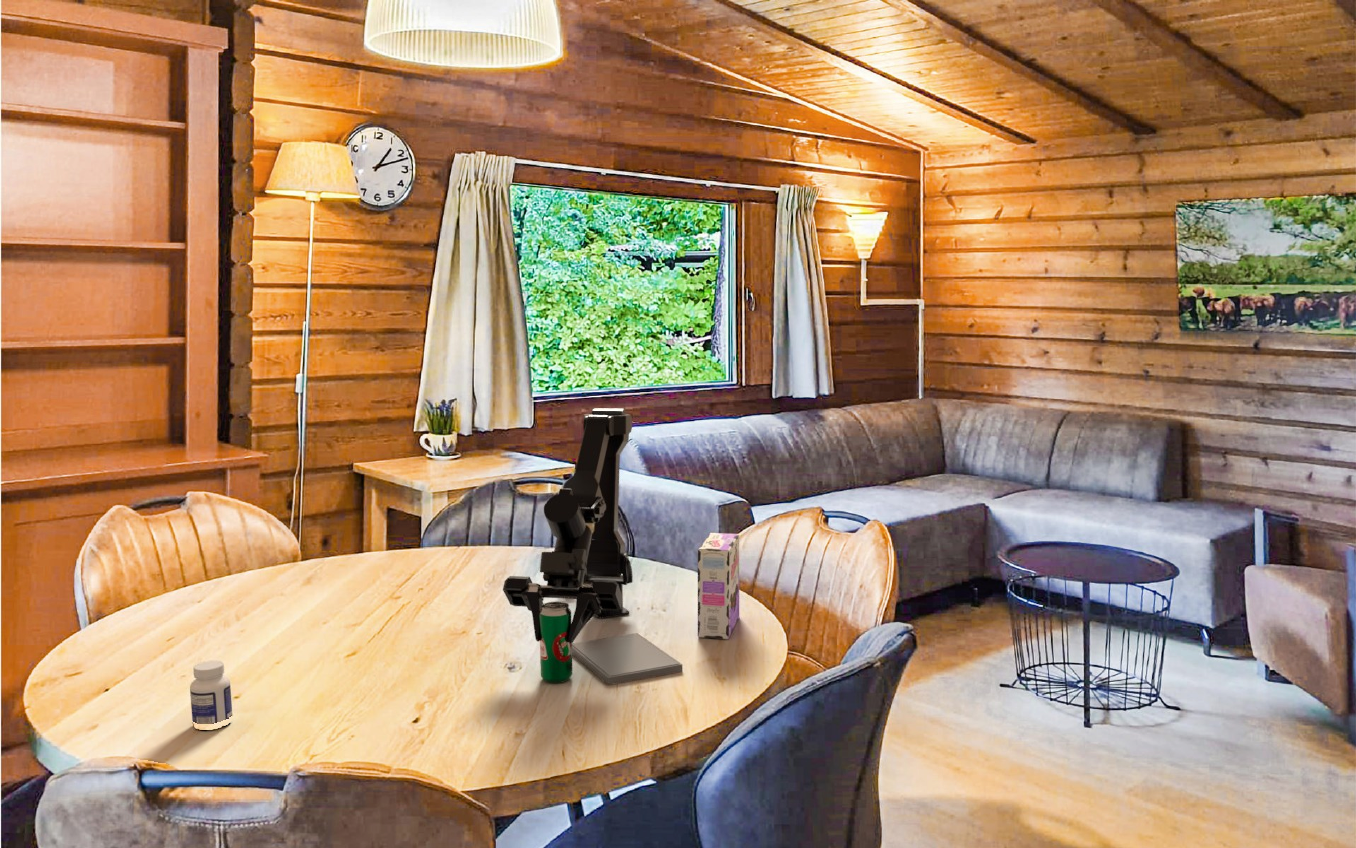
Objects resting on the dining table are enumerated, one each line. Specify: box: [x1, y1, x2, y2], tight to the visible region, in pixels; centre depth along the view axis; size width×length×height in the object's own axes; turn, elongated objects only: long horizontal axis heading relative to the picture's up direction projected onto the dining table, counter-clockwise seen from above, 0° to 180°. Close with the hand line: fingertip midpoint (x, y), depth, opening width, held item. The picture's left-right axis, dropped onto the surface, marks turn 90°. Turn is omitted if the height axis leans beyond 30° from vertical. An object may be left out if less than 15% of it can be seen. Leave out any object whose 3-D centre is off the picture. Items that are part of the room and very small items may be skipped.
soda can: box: [539, 601, 574, 684], centre depth 167 cm, size 5×5×12 cm
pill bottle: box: [189, 659, 233, 724], centre depth 150 cm, size 5×5×9 cm
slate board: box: [572, 632, 683, 686], centre depth 175 cm, size 18×13×1 cm
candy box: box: [697, 532, 740, 640], centre depth 192 cm, size 14×6×16 cm, turn 168°
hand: (553, 641), depth 165 cm, fingers closed on soda can, 5 cm apart
